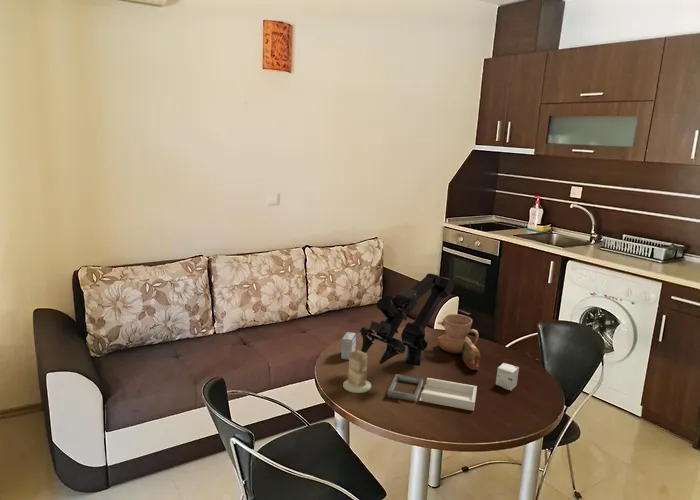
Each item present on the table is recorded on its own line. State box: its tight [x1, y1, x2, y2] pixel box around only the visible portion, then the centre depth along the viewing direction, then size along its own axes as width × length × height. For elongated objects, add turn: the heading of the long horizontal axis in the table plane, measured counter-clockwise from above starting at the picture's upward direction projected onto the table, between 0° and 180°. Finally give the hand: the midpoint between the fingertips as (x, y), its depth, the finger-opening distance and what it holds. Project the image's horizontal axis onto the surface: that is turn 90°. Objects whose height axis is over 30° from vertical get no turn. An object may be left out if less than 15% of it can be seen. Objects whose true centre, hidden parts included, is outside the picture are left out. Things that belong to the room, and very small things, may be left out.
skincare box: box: [495, 362, 520, 392], centre depth 187 cm, size 6×6×7 cm
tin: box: [461, 341, 482, 371], centre depth 203 cm, size 15×3×8 cm, turn 5°
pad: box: [342, 379, 372, 394], centre depth 183 cm, size 10×10×1 cm
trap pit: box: [386, 373, 424, 402], centre depth 181 cm, size 14×10×2 cm
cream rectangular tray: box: [419, 377, 478, 412], centre depth 176 cm, size 12×18×4 cm, turn 72°
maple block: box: [347, 349, 368, 389], centre depth 182 cm, size 4×4×12 cm
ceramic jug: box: [437, 313, 480, 355], centre depth 217 cm, size 18×14×14 cm
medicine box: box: [340, 331, 357, 361], centre depth 208 cm, size 8×4×9 cm, turn 168°
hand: (370, 359), depth 186 cm, fingers open, 9 cm apart
